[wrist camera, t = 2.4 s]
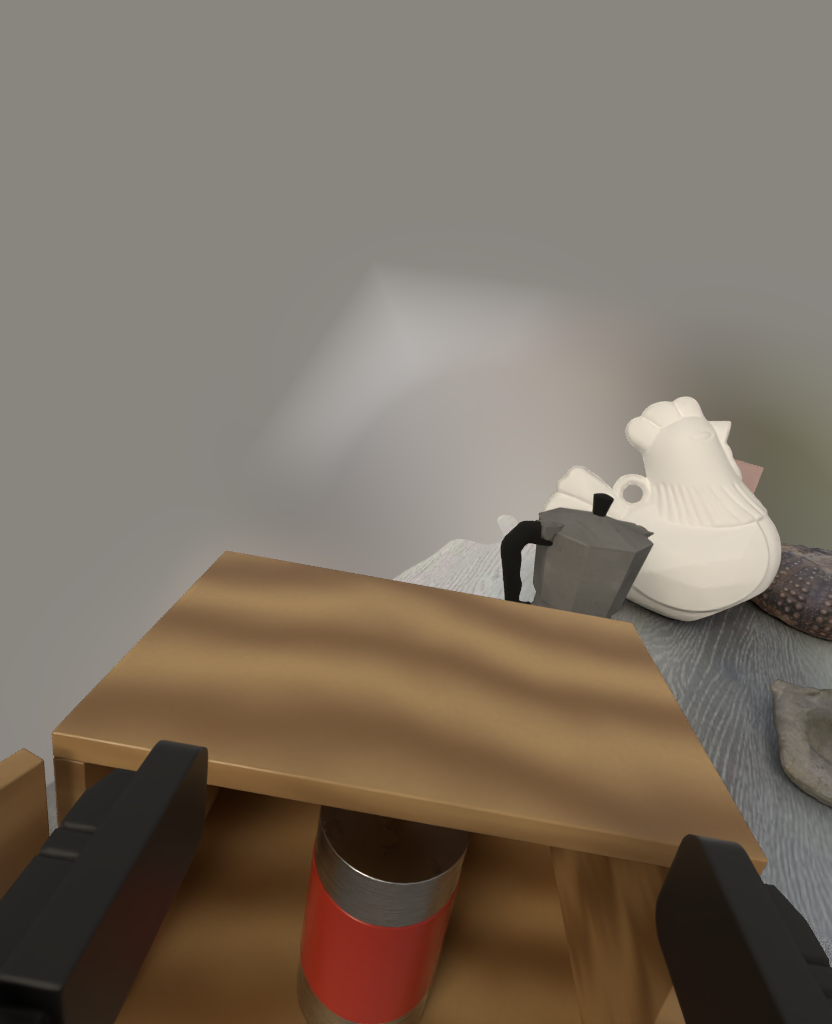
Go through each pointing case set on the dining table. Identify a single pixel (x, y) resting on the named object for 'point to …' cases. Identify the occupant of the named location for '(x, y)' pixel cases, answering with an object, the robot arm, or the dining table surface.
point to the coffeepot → (577, 559)
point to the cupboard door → (21, 814)
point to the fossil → (805, 736)
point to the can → (375, 916)
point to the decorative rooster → (686, 514)
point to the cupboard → (409, 787)
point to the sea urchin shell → (801, 590)
